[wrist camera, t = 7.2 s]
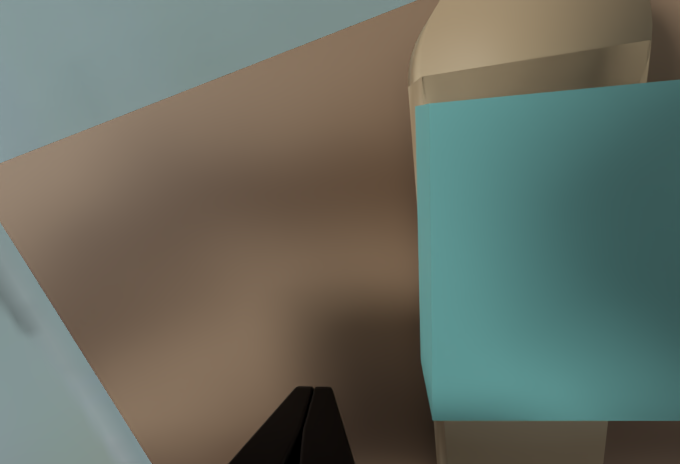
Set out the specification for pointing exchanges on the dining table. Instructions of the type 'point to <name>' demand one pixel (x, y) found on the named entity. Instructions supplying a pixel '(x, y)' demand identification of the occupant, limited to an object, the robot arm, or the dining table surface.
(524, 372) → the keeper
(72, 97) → the dining table surface
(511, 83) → the link
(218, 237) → the base board
